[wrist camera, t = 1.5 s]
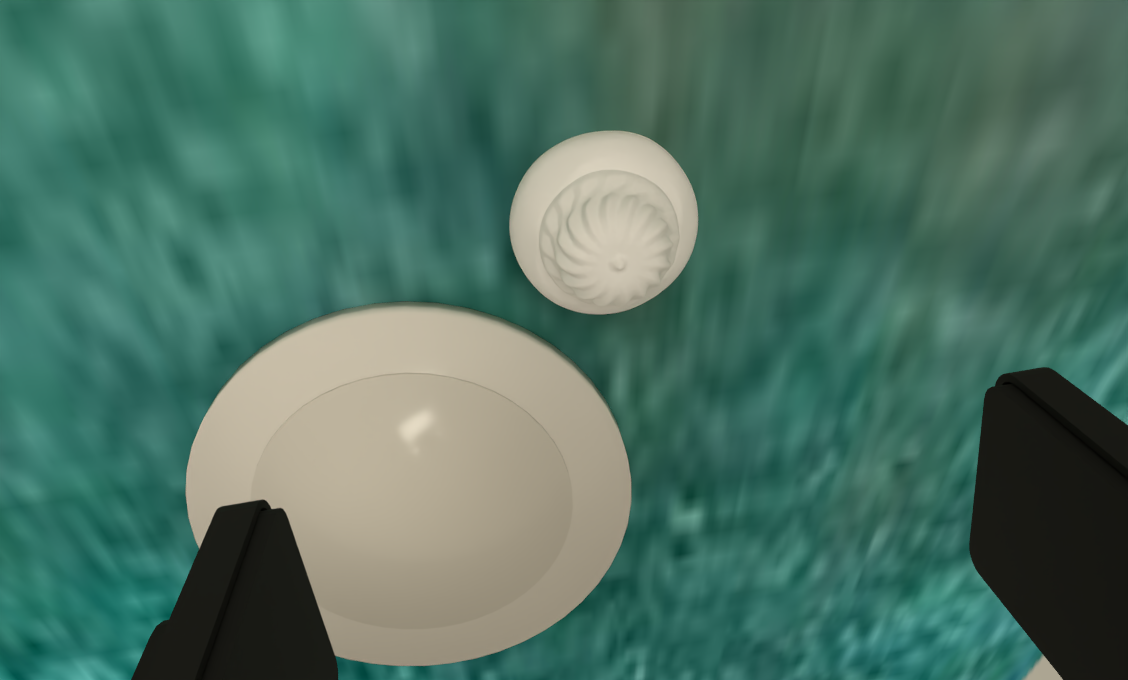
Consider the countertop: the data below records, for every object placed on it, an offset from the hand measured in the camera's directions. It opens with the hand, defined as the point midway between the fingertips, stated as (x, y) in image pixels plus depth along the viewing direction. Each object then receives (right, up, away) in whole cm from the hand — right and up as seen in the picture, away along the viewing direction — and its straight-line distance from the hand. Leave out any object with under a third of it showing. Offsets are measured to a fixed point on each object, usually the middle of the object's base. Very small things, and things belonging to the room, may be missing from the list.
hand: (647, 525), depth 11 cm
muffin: (0, +8, +20) cm, 21 cm away
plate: (-7, -4, +25) cm, 26 cm away
